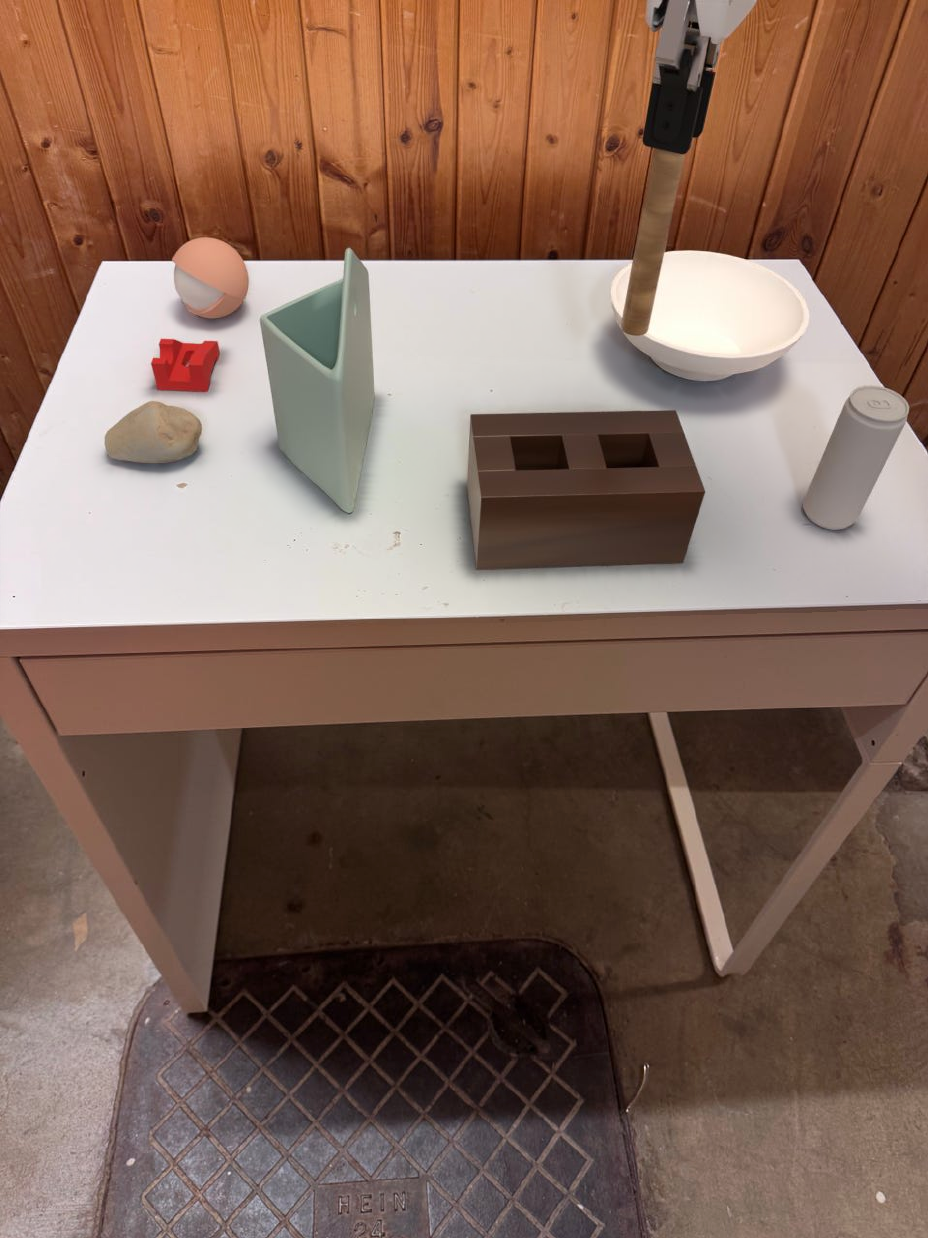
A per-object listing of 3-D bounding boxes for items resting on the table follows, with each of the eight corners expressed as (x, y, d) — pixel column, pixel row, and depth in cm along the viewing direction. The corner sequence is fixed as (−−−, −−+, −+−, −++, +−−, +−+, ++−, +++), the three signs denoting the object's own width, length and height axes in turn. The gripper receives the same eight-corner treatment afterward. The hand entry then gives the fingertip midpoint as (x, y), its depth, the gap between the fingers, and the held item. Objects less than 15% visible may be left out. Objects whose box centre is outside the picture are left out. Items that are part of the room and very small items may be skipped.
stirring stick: (651, 325, 74) (710, 46, 59) (643, 338, 73) (701, 57, 58) (625, 317, 75) (677, 39, 59) (616, 331, 73) (667, 50, 58)
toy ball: (166, 307, 99) (149, 236, 93) (229, 284, 103) (217, 215, 97) (203, 341, 96) (188, 270, 90) (267, 316, 99) (257, 246, 93)
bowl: (594, 404, 91) (604, 343, 86) (605, 299, 104) (615, 240, 98) (795, 428, 90) (818, 368, 84) (782, 319, 102) (801, 261, 97)
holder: (683, 563, 77) (705, 491, 71) (476, 569, 76) (481, 497, 70) (657, 481, 84) (676, 409, 78) (466, 486, 83) (470, 413, 77)
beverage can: (794, 495, 83) (841, 383, 74) (847, 496, 84) (900, 384, 74) (808, 532, 80) (858, 420, 71) (863, 533, 80) (919, 422, 71)
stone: (156, 502, 84) (213, 443, 81) (94, 461, 80) (152, 398, 77) (159, 465, 89) (213, 408, 86) (101, 425, 85) (155, 365, 83)
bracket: (207, 391, 90) (201, 365, 88) (157, 389, 90) (150, 363, 88) (219, 353, 94) (214, 327, 92) (172, 351, 94) (166, 325, 92)
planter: (294, 393, 90) (269, 192, 75) (375, 398, 90) (365, 198, 75) (261, 508, 80) (224, 300, 65) (353, 513, 80) (336, 307, 65)
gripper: (779, -190, 43) (691, 201, 57) (843, -236, 53) (754, 110, 67) (626, -210, 45) (578, 174, 59) (715, -250, 54) (655, 89, 68)
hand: (672, 137), depth 63 cm, fingers closed on stirring stick, 2 cm apart
